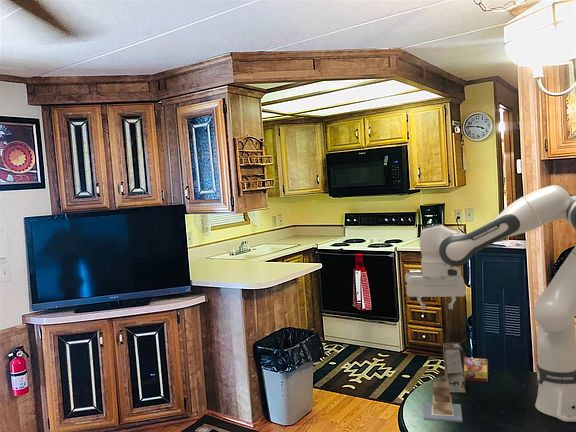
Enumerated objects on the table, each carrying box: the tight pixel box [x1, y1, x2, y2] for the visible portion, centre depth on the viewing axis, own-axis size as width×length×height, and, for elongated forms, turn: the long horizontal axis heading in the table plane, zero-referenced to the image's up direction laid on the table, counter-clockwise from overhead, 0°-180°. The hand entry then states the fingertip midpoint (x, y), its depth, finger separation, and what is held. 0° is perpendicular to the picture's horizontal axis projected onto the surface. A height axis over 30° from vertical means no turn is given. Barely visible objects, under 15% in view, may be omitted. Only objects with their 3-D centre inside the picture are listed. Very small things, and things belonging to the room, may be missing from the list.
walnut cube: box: [433, 380, 451, 402], centre depth 164 cm, size 5×5×5 cm
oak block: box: [432, 394, 453, 415], centre depth 165 cm, size 6×6×4 cm
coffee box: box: [442, 342, 466, 394], centre depth 184 cm, size 9×6×16 cm
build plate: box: [423, 401, 463, 423], centre depth 165 cm, size 12×12×1 cm
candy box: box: [464, 357, 489, 383], centre depth 195 cm, size 9×4×15 cm
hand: (436, 308), depth 173 cm, fingers open, 8 cm apart
